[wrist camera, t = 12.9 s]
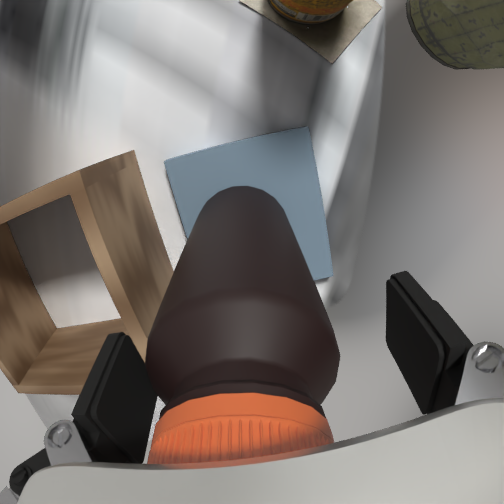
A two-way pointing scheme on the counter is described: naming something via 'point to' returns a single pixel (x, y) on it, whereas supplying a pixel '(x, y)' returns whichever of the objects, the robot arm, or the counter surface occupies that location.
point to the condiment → (319, 21)
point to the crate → (109, 264)
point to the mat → (260, 185)
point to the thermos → (460, 31)
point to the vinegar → (240, 340)
